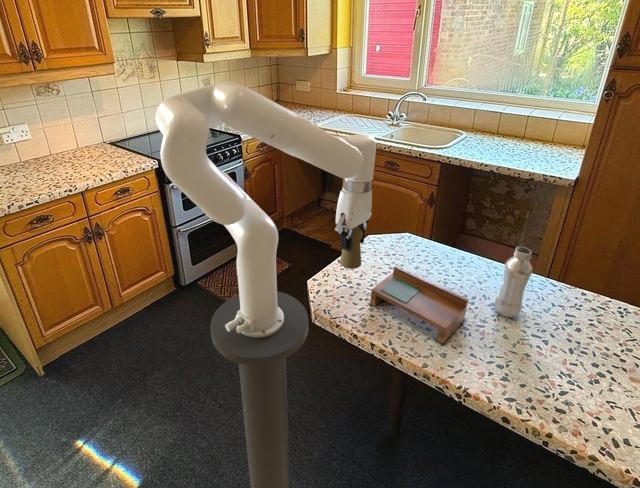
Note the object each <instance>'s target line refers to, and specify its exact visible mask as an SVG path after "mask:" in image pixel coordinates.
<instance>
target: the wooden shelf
mask: <svg viewBox="0 0 640 488" xmlns="http://www.w3.org/2000/svg"><path fill="white" fill-rule="evenodd" d="M383 300H384V301H386V302H388V303H389V304H391V305H393V306H395V307H397V308H399V309H401V310H402V311H405V312H406V313H408V314H410V315H412V316H414V317H416V318H418V319H419V320H421V321H423V322H425V323H426V324H429V325H431V326H432V327H435V328H436V329H438V333H437V334H438V335H437V340H436V341H437V342H438V343H441V344H443V345H444V343H446V342H447V340H448V339H449V338H450V337H451V335H453V334H454V332H455V331H456V330H457V329H458V328H459V327H460V325H461V324H462V323H463V322H464V320H465V316H466V312H467V308H468V304H469V300H470V299H468V297H467V298H466V297H464V296H462V295H461V294H458V293H456V292H454V291H452V290H449V289H447V288H445V287H443V286H441V285H439V284H436V283H434V282H432V281H430V280H428V279H426V278H423V277H421V276H419V275H417V274H414V273H413V272H411V271H408V270H406V269H404V268H402V267H399V266H397V265H395V266H393V271H392V273H390V275H388V276H387V277H386V278H384V279H383V280H382V281H381V282H379V283H377V285H375V286H374V287H373V288H371V291H370V301H369V304H370V305H372V306H373V307H376V306H377V305H378V304H380V303H381V302H382V301H383Z"/></svg>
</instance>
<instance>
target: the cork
mask: <svg viewBox="0 0 640 488" xmlns="http://www.w3.org/2000/svg"><path fill="white" fill-rule="evenodd" d="M347 231H348V229H346V228H345V232H346V233H347ZM362 236H363V232H362V230H361V229H360V228H359V227H357V226H356V227H354V228H353V229H352V232H351V236H350V238H352V240H351V250H350V251H346V250H344V249H341V255H340V259H339V265H341V266H342V267H343V268H345V269H350V270H354V269H359V267H361V266H362V253H361V252H362V248H361V243H360V240H361V239H362Z"/></svg>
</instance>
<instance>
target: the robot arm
mask: <svg viewBox="0 0 640 488" xmlns="http://www.w3.org/2000/svg"><path fill="white" fill-rule="evenodd" d="M154 119H155V123H156V126H157V129H158V130H159V132H160V133H161V134H162V140H161V145H160V163H161V166H162V170H163V172H164V173H165V175H166V177H167V178H168V180H169V181H171V183H173V185H174V186H175V187H176V188H178V189H179V190H180V191H181V192H182V193H183V194H184V195H185V196H186V197H187V198H188V199H189V200H190V201H191V202H192V203H193V204H194V205H196V206H197V207H198V208H199V209H200V210H201V211H202V212H203V213H204V214H205V215H206V217H207V218H209V219H210V220H212V221H213V222H215V223H217V224H220V225H222V226H224V227H225V228H226V230H227V231H228V232H229V234H230V235H231V237H232V239H233V240H234V242H235V244H236V247H237V248H236V249H237V255H236V275H237V285H238V286H237V287H238V295H239V298H240V310H239V311H237V315H236V317H235V320H233V321H231V322H229V323H227V324H226V325H225V328H226V330H227V331H231V330H232V329H234V328H235V327H237V328H236V331H237V333H240V332H241V333H242V334H244V335H246V336H249V337H255V338H261V337H266V336H269V335H272V334H274V333H275V332H277V331H278V330H279V329H280V328H281V327H282V325H283V322H284V314H283V311H282V310H281V309H280V308H279V307H278V304H277V291H278V280H277V278H278V277H277V249H278V245H279V231H278V228H277V226H276V224H275V222H274V221H273V219H272V218H271V217H270V216H269V215H268V214H267V213H266V212H265V211H264V209H262V208H261V207H260V206H259V205H258V204H257V203H256V202H255V201H254V200H253V199H252V198H251V197H250V196H249V195H248V194H247V193H246V192H245V191H244V190H243V189H242V188H241V187H240V186H239V185H238V183H237V182H236V181H235V180H234V179H232V178H231V177H230V176H229V174H227V173H226V172H225V171H223V170H220V169H219V168H218V166H216V164H215V163H214V162H212V160H211V159H210V158H209V157H208V154H207V145H208V142H209V137H210V128H211V127H213V126H217V125H219V124H222V123H224V124H225V125H227V126H228V127H230V128H232V129H234V130H235V131H238V132H240V133H242V134H244V135H247V136H248V137H251V138H254V139H256V140H258V141H260V142H262V143H265V144H267V145H269V146H271V147H272V148H275V149H277V150H279V151H281V152H283V153H285V154H287V155H289V156H292V157H294V158H297V159H300V160H302V161H304V162H305V163H308V164H311V165H312V166H314V167H317V168H319V169H321V170H323V171H325V172H327V173H329V174H332V175H334V176H336V177H338V178H340V179H342V184H341V185H342V187H341V190H340V192H339V195H338V200H337V206H336V210H335V211H336V213H335V228H334V231H335V232H336V233H337V234H338V235H339V236H340V241H339V242H340V243H339V244H340V245H339V246H340V247H339V248H341V250H343V249H344V250H346V251H350V250H351V240H352V238H350V236H351V232H352V229H353V228H354V227H356V226H357V227H359V228H360V229H361V230H362V232H363V236H362V239H361V240H360V244H364V243H365V235H366V230H367V227H368V226H367V225H368V223H369V221H370V218H371V216H372V215H373V212H372V207H373V182H374V172H375V163H376V162H375V161H376V153H377V140H376V139H375V137H374V136H371V135H368V134H363V133H362V134H359V133H357V134H351V135H349V136H339V135H334V134H332V133H330V132H328V131H326V130H324V129H323V128H322V127H321V128H320V126H317V125H315V124H314V123H312V122H311V121H309V120H308V119H307V118H305V117H303V116H302V115H299V114H298V113H296V112H294V111H292V110H290V109H288V108H287V107H284V106H283V105H281V104H279V103H277V102H275V101H274V100H273V99H272V100H271V99H269V98H268V97H266V96H264V95H262V94H260V93H259V92H256V91H255V90H252V89H251V88H249V87H246V86H244V85H242V84H240V83H237V82H235V81H231V80H224V81H219V82H215V83H212V84H208V85H206V86H201V87H199V88H196V89H192V90H188V91H185V92H183V93H178V94H176V95H172V96H170V97H167V98H166V99H164V100H163V101H162V102H161V103H160V104H159V105H158V106H157V108H156V110H155V114H154ZM345 228H346V229H348V231H347V233H346V232H345Z"/></svg>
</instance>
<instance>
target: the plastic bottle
mask: <svg viewBox="0 0 640 488" xmlns="http://www.w3.org/2000/svg"><path fill="white" fill-rule="evenodd" d="M532 254H533V252H532V250H531V249H530V248H528V247H525V246H516V247H515V250H514V251H513V256H511V257H510V258H508V259H507V260H506V261H505V263H504V269H503V277H502V282H501V286H500V290H499V292H498V294H497V295H496V297H495V299H494V308H495V310H496V311H497V313H498V314H500V315H501V316H503V317H506V318H516V317H517V316H519V315H520V313H521V312H522V310H523V298H524V293H525V290H526V287H527V284H528V282H529V281H530V279H531V277H532V275H533V265H532V263H531V262H530V260H531V258H532Z"/></svg>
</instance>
